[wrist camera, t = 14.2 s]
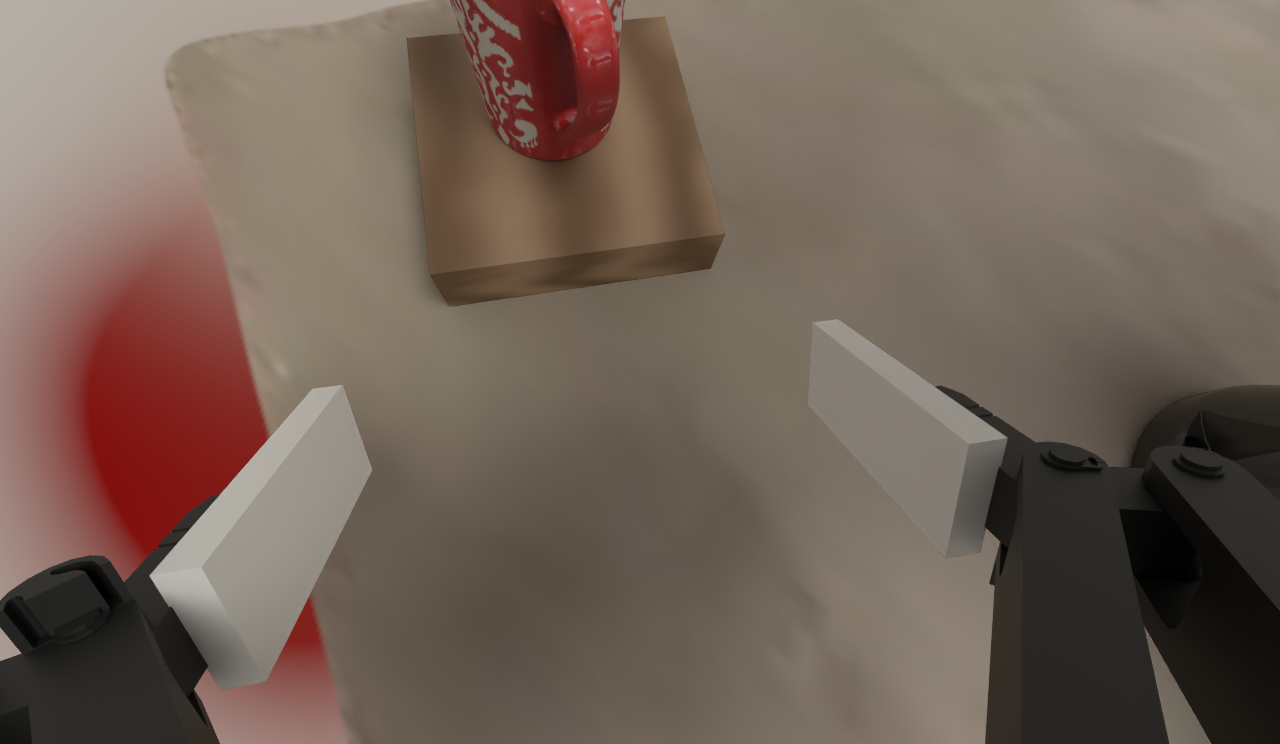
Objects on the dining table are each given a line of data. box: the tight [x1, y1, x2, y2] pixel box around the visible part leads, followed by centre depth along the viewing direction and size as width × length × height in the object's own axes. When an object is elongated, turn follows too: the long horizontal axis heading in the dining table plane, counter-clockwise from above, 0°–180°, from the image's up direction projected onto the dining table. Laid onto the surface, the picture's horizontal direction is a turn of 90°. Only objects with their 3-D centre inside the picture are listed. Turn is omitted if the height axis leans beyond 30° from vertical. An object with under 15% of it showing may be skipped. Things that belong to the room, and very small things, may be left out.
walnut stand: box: [407, 17, 725, 306], centre depth 34 cm, size 16×16×4 cm
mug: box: [450, 0, 625, 160], centre depth 25 cm, size 13×9×14 cm
